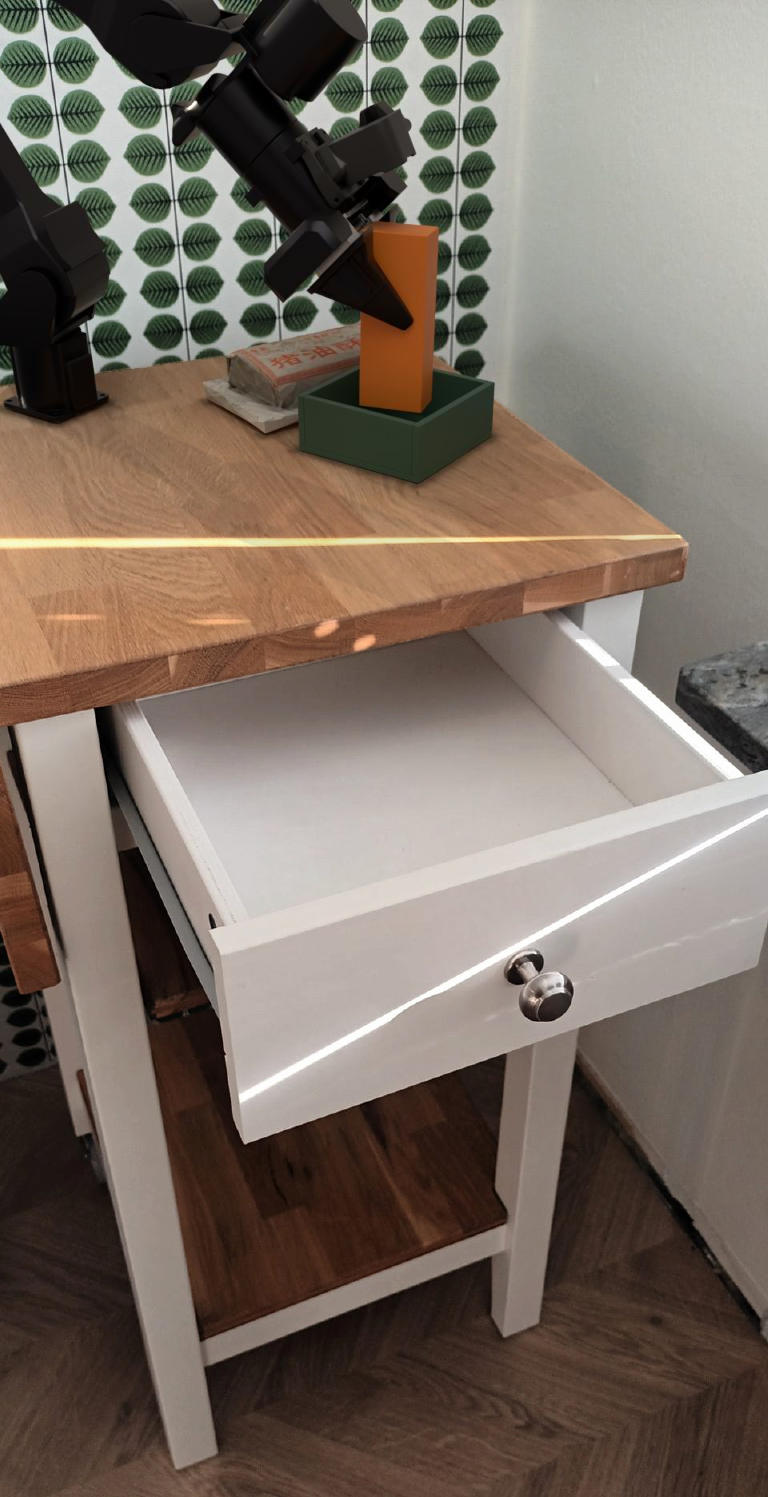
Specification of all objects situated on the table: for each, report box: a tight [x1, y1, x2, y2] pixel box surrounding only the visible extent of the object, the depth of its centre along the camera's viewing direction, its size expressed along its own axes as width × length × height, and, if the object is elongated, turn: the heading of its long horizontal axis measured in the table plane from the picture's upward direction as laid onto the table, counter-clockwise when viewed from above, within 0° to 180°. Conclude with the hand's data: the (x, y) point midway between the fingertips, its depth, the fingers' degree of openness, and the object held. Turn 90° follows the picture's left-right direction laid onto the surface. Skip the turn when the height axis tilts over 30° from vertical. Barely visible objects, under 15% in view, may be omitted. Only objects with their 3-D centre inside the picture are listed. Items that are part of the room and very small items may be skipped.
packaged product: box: [202, 322, 360, 434], centre depth 107 cm, size 18×5×10 cm
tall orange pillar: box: [359, 221, 440, 413], centre depth 94 cm, size 5×3×13 cm, turn 73°
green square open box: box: [297, 365, 496, 484], centre depth 99 cm, size 11×11×4 cm
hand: (415, 319), depth 94 cm, fingers closed on tall orange pillar, 3 cm apart
